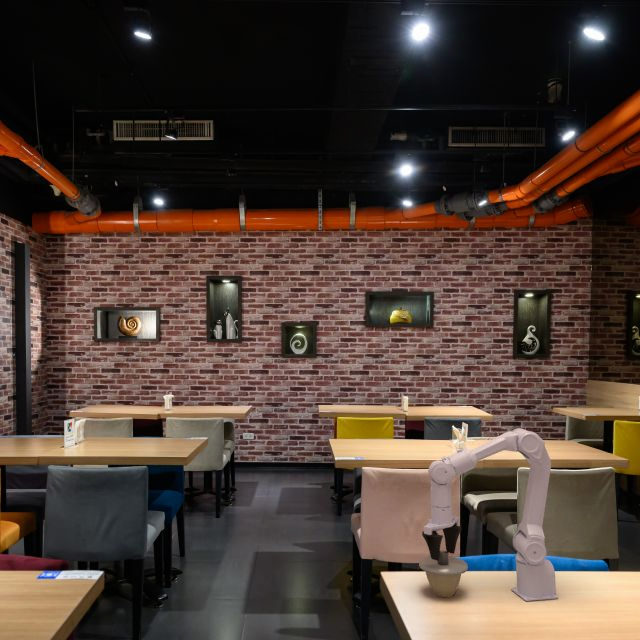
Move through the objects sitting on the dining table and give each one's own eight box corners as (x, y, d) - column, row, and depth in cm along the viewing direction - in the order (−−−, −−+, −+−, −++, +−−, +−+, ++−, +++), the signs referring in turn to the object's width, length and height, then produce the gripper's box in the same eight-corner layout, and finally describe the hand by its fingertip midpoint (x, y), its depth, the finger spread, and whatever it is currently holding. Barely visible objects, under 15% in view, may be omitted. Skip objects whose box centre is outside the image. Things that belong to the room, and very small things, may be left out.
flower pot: (463, 602, 139) (462, 574, 140) (425, 599, 141) (424, 571, 142) (461, 587, 149) (460, 561, 150) (425, 585, 151) (424, 559, 152)
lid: (455, 557, 153) (454, 543, 154) (476, 573, 141) (475, 558, 141) (412, 560, 151) (412, 546, 152) (429, 577, 138) (429, 562, 139)
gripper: (443, 498, 155) (445, 546, 154) (413, 507, 145) (415, 559, 144) (464, 502, 150) (466, 552, 149) (435, 512, 140) (437, 565, 139)
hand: (443, 556), depth 146 cm, fingers open, 7 cm apart
